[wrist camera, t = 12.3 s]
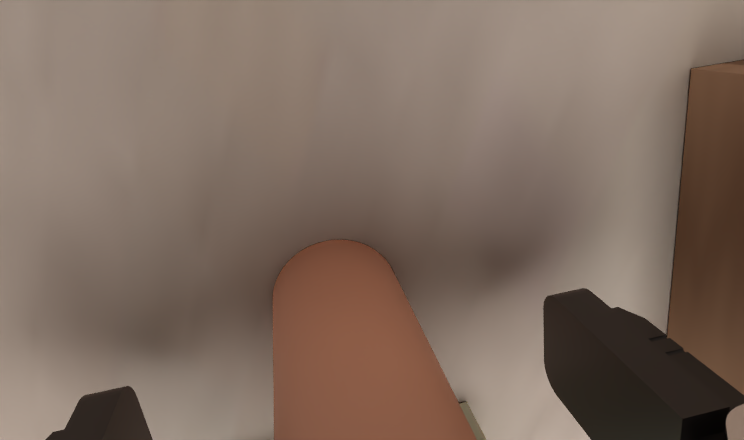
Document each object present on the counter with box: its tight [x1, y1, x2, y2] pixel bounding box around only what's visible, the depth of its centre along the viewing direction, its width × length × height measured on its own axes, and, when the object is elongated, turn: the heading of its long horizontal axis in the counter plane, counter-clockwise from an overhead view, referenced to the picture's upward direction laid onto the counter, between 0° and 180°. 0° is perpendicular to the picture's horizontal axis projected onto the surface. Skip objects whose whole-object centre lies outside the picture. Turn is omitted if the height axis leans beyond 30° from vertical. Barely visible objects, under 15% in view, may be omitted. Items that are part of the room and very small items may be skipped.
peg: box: [273, 240, 477, 440], centre depth 9 cm, size 3×3×8 cm
